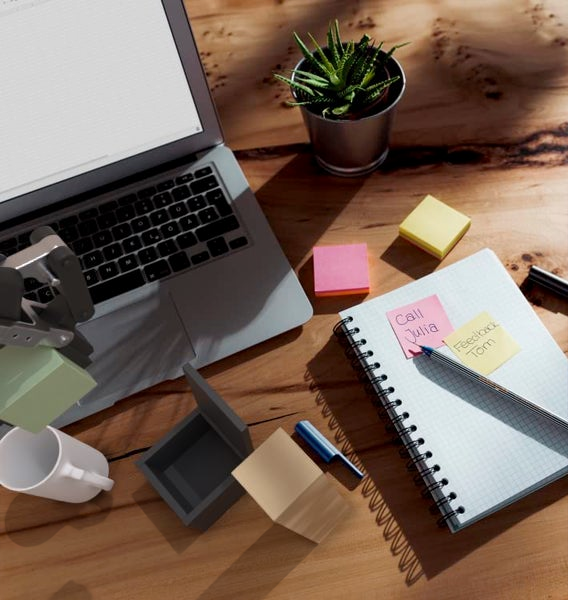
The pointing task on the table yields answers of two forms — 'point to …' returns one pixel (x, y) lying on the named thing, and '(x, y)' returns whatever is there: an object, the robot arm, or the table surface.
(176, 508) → the grey lidded box
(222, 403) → the open box flap
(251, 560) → the table surface
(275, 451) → the stand
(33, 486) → the mug
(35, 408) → the block
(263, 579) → the table surface
